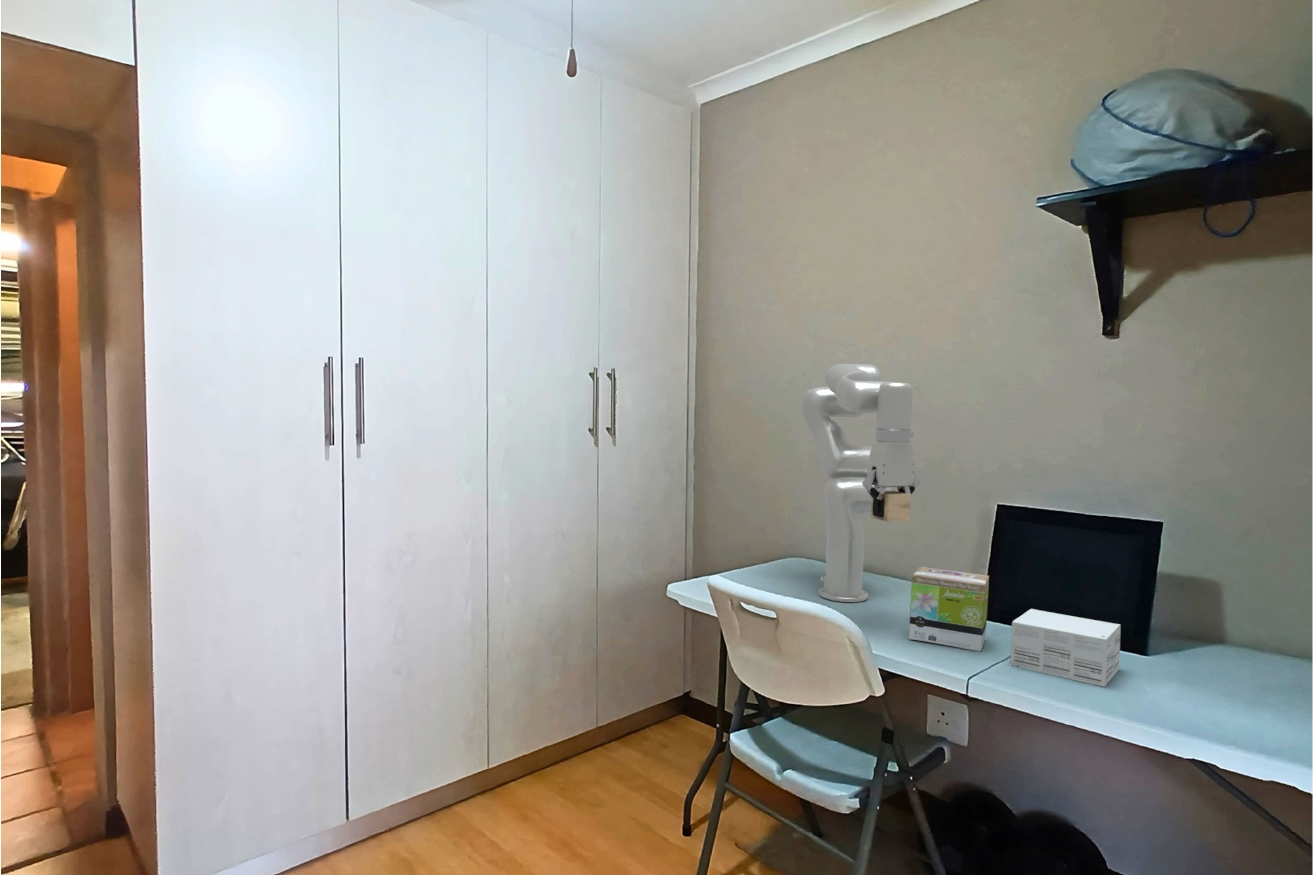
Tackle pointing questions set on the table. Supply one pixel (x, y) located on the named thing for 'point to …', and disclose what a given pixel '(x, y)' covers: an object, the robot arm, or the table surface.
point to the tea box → (949, 608)
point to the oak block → (895, 506)
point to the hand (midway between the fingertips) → (890, 514)
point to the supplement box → (1066, 646)
